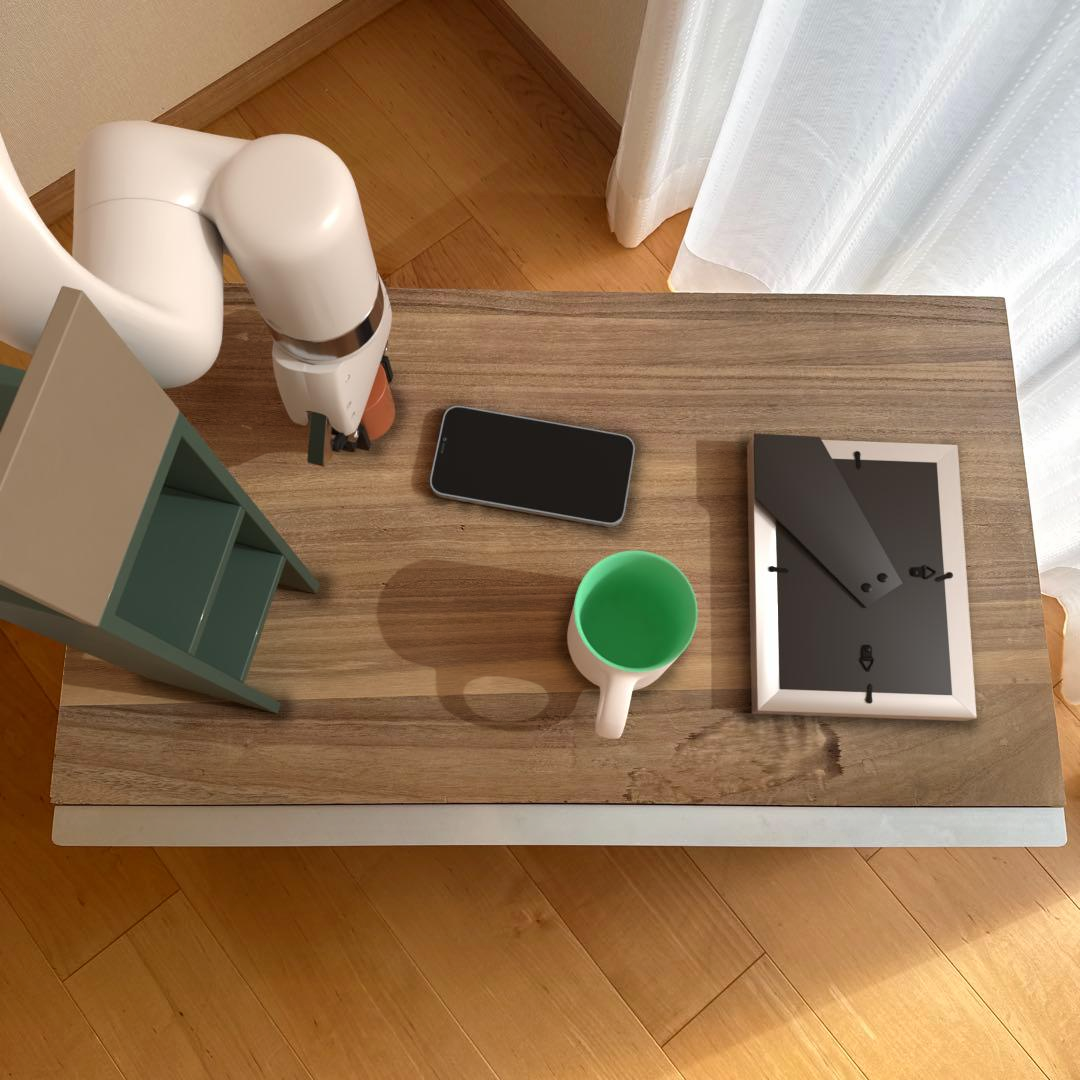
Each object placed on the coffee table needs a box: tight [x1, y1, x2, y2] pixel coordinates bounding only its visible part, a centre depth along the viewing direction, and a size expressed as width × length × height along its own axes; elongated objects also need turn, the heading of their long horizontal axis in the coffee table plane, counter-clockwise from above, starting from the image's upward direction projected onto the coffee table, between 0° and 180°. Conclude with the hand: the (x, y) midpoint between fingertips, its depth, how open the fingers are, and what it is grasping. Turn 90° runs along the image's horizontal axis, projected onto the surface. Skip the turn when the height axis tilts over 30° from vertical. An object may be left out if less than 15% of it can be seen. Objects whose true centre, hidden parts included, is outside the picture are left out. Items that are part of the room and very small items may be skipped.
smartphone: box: [429, 405, 636, 528], centre depth 84 cm, size 7×1×15 cm
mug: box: [566, 550, 699, 740], centre depth 75 cm, size 12×8×10 cm, turn 172°
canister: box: [359, 363, 396, 442], centre depth 82 cm, size 5×5×6 cm
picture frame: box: [746, 433, 978, 722], centre depth 81 cm, size 16×3×21 cm
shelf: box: [0, 286, 321, 715], centre depth 58 cm, size 10×10×46 cm
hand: (361, 408), depth 84 cm, fingers closed on canister, 5 cm apart
